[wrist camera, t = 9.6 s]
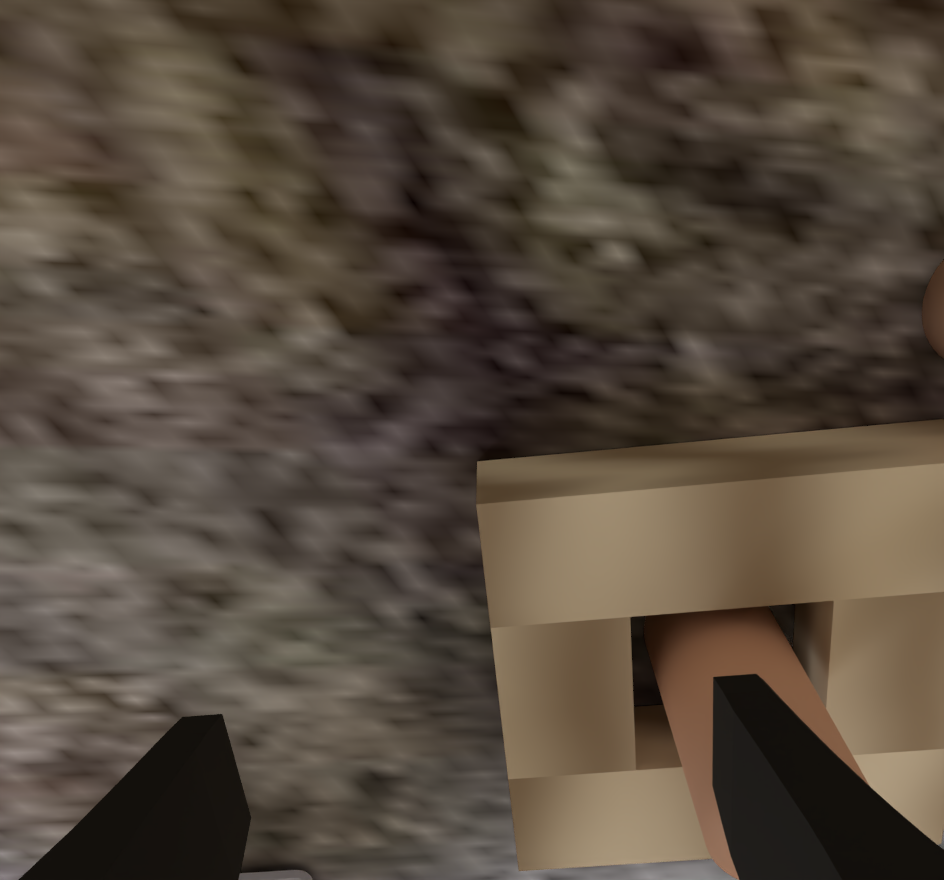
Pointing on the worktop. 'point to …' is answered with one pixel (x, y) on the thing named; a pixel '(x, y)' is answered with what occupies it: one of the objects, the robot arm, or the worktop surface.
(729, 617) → the long pin
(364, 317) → the worktop surface
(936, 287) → the short stub
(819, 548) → the collar block
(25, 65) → the worktop surface
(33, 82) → the worktop surface
